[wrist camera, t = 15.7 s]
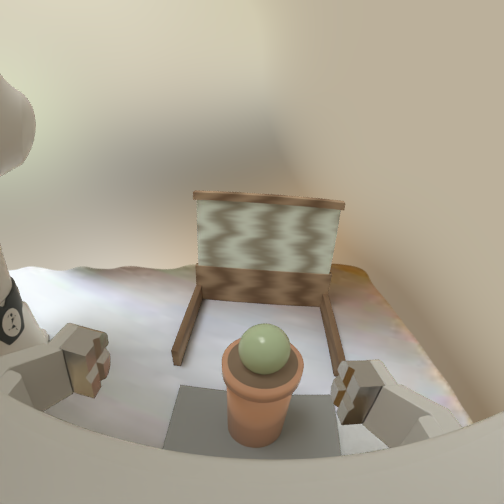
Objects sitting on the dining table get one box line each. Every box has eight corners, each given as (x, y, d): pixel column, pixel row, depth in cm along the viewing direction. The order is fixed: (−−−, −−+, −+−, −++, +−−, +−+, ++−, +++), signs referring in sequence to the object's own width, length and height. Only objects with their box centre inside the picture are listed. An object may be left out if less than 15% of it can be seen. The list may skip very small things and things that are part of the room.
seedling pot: (220, 447, 26) (214, 359, 19) (227, 399, 33) (227, 300, 26) (285, 451, 26) (316, 365, 19) (285, 403, 33) (307, 305, 26)
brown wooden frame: (174, 365, 38) (155, 234, 29) (198, 294, 54) (194, 190, 45) (340, 375, 38) (381, 250, 29) (324, 303, 54) (343, 200, 45)
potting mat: (164, 451, 26) (162, 448, 25) (181, 388, 35) (180, 384, 34) (339, 461, 25) (341, 459, 25) (331, 397, 34) (332, 394, 34)
